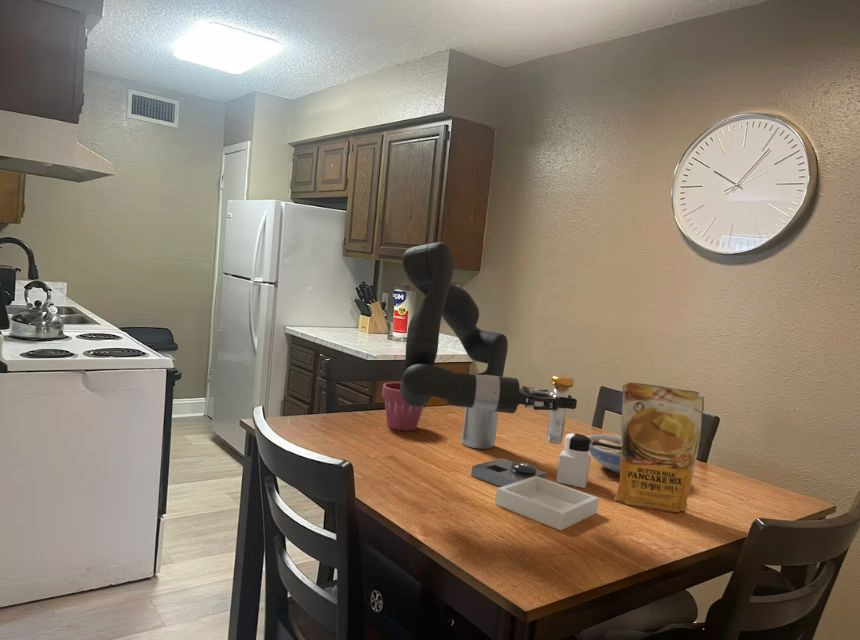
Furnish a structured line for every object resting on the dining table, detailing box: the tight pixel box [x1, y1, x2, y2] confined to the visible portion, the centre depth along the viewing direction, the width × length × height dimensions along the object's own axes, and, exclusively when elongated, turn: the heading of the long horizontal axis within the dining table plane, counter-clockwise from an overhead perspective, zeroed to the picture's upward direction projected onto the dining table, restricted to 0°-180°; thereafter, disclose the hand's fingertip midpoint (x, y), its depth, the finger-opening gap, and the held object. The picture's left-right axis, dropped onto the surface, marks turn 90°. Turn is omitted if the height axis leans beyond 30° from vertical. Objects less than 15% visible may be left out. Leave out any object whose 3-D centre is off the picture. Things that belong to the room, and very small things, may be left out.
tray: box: [494, 476, 600, 531], centre depth 133 cm, size 16×16×4 cm
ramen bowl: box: [586, 434, 622, 475], centre depth 168 cm, size 25×23×8 cm
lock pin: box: [546, 375, 575, 445], centre depth 132 cm, size 5×5×14 cm
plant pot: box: [381, 381, 425, 432], centre depth 189 cm, size 14×14×13 cm
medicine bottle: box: [555, 432, 592, 489], centre depth 154 cm, size 7×7×12 cm
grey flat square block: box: [470, 457, 547, 488], centre depth 150 cm, size 13×13×4 cm
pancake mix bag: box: [613, 382, 705, 514], centre depth 143 cm, size 7×19×28 cm, turn 81°
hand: (572, 402), depth 132 cm, fingers closed on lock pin, 3 cm apart
